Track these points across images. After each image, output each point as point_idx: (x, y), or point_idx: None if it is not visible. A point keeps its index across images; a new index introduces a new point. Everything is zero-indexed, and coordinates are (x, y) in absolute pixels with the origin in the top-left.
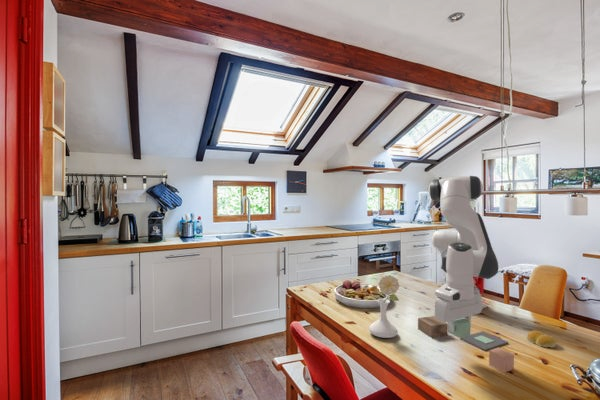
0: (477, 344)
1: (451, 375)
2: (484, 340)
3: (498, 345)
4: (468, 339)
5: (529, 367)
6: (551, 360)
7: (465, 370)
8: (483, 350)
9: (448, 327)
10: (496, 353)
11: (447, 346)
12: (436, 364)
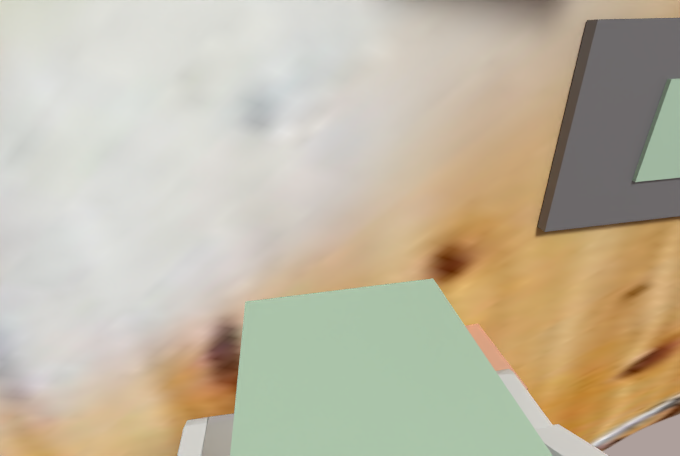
0: (580, 166)
1: (95, 367)
2: (676, 146)
3: (668, 215)
4: (615, 79)
5: (541, 381)
6: (675, 362)
7: (224, 348)
8: (539, 219)
9: (240, 364)
10: None
11: (372, 78)
12: (68, 260)
